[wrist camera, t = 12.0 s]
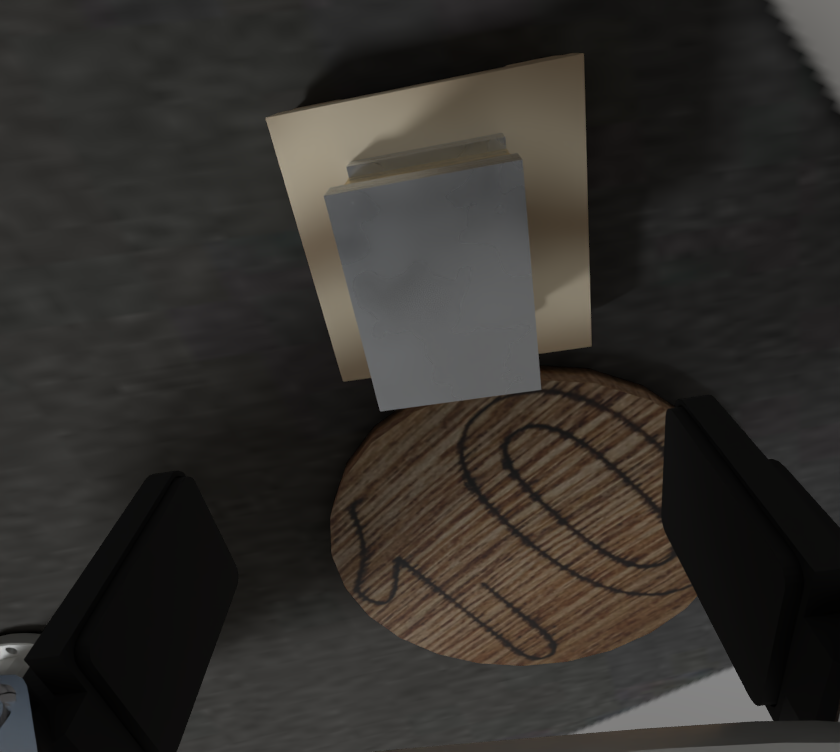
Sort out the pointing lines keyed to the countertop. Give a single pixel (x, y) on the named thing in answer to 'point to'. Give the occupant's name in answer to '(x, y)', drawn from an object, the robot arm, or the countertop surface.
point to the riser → (443, 123)
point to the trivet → (514, 522)
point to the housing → (440, 271)
